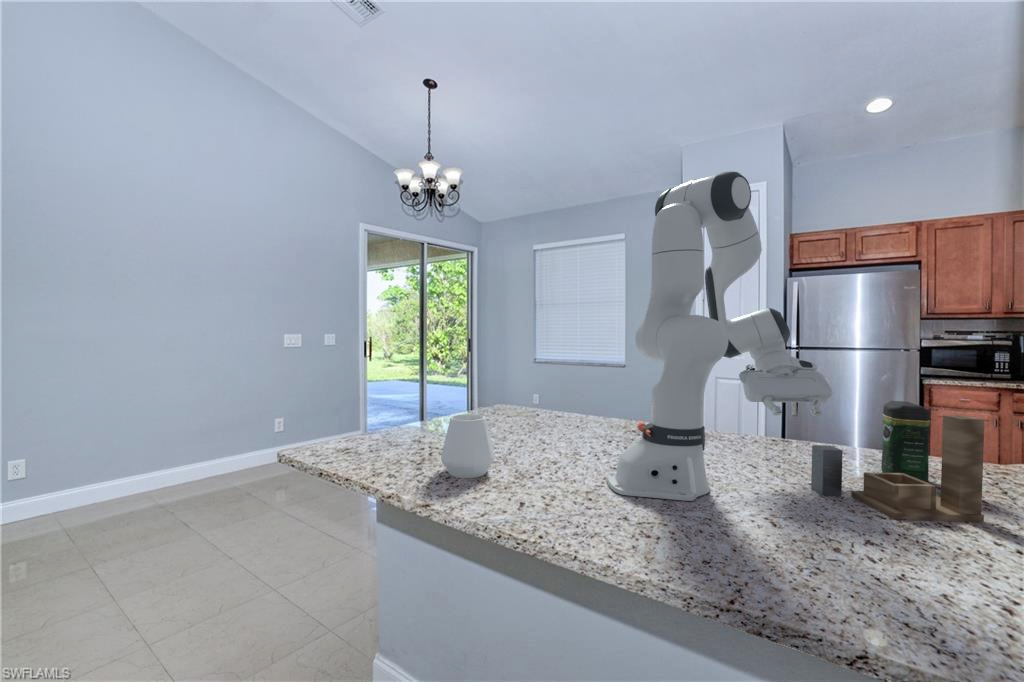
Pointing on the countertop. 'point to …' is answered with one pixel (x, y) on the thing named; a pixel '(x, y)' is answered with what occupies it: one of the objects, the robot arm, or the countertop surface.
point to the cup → (467, 446)
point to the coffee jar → (906, 439)
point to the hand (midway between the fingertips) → (797, 414)
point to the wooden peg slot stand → (958, 480)
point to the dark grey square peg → (826, 470)
